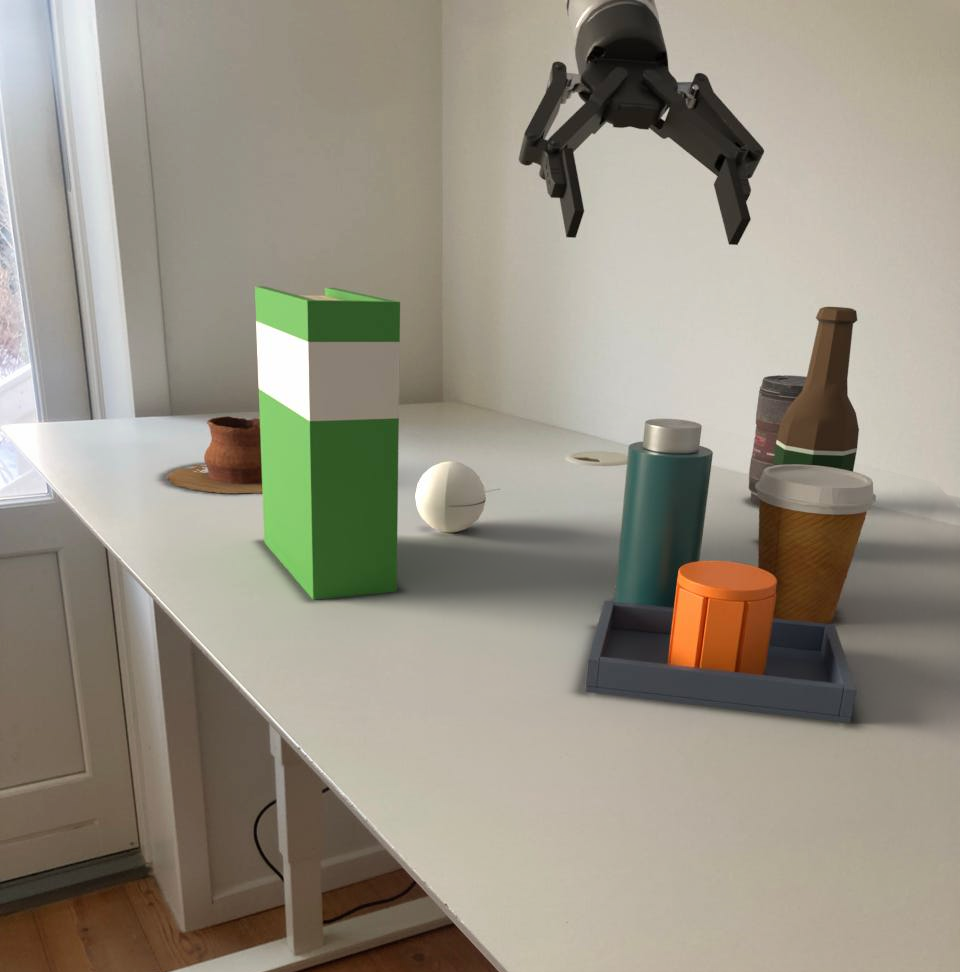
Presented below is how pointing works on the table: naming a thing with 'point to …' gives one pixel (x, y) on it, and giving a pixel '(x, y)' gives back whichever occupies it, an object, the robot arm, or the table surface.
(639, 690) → the tray
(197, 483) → the ceramic pot
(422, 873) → the table surface
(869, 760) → the table surface
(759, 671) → the cap
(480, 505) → the white ball
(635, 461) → the water bottle
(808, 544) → the disposable coffee cup
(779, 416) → the travel mug
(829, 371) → the beer bottle
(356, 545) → the hardback book
